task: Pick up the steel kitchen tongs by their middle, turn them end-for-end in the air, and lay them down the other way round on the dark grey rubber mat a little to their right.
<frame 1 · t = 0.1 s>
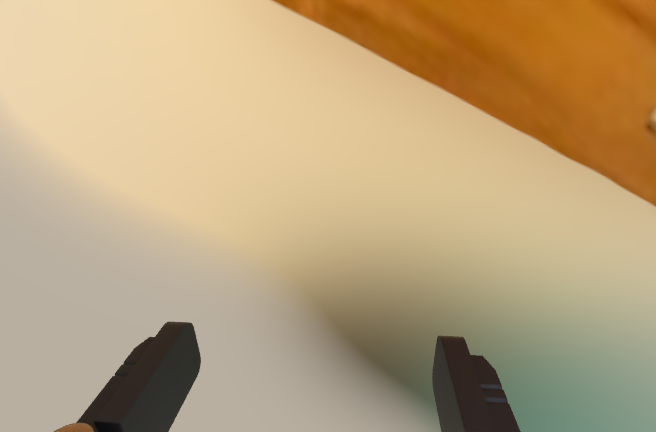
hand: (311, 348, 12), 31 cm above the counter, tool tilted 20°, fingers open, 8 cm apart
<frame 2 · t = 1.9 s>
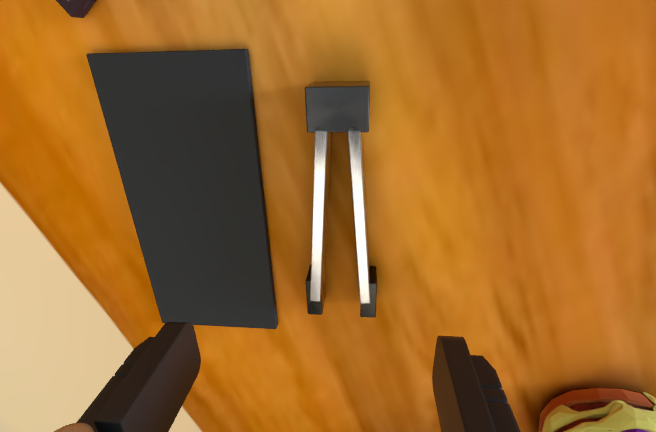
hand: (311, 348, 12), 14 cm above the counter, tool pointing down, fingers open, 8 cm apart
cheeseburger: (583, 418, 31), on the counter
tongs: (341, 81, 21), on the counter
mat: (199, 209, 26), on the counter
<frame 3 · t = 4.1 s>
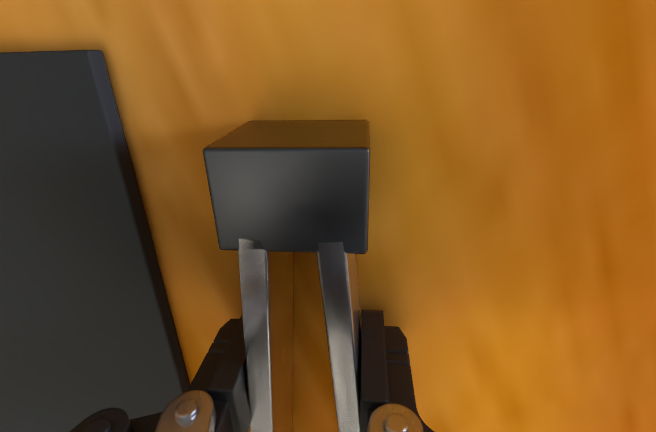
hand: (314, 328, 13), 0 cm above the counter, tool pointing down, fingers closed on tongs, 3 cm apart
tongs: (307, 119, 10), on the counter, touching gripper
mat: (62, 337, 15), on the counter
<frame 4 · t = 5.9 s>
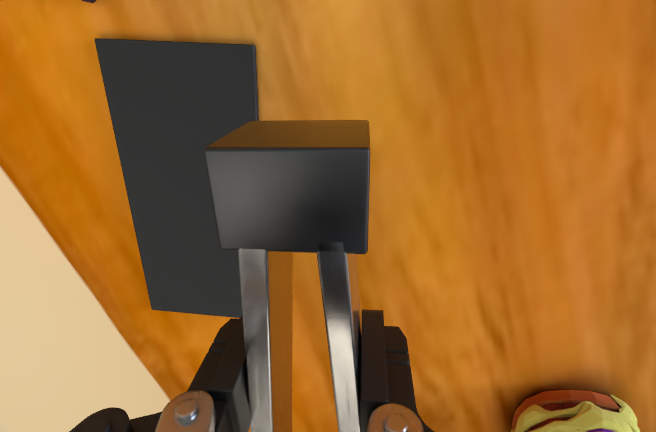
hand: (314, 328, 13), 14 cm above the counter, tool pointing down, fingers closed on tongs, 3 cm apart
cheeseburger: (554, 418, 33), on the counter
tongs: (307, 120, 10), point 14 cm above the counter, touching gripper
mat: (196, 198, 27), on the counter
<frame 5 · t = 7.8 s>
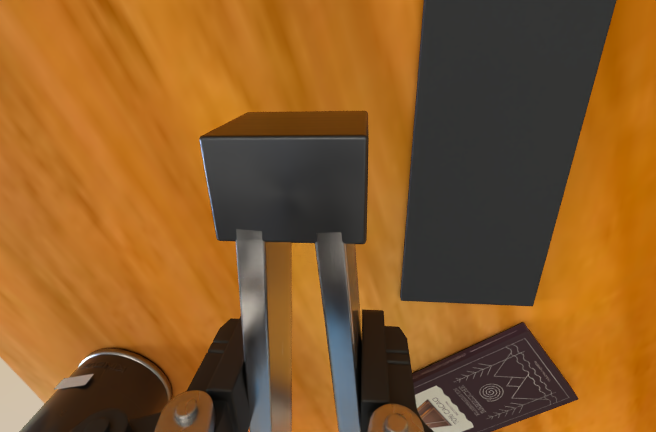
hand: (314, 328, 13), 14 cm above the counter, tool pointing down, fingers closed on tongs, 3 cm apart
tongs: (305, 111, 10), point 14 cm above the counter, touching gripper
mat: (485, 172, 24), on the counter
chocolate bar: (452, 395, 33), on the counter
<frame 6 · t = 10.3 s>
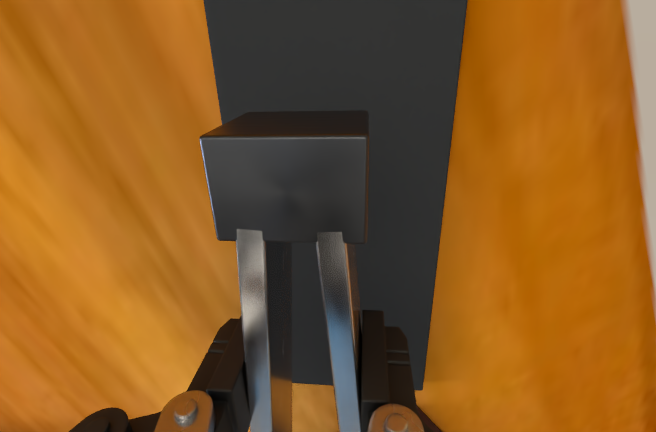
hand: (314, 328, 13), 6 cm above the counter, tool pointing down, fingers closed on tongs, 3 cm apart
tongs: (306, 110, 10), point 6 cm above the counter, touching gripper
mat: (337, 229, 18), on the counter
when the fingers open (1 cm above the counter, at t = 12.0 s): tongs stays where it is, resting on mat.
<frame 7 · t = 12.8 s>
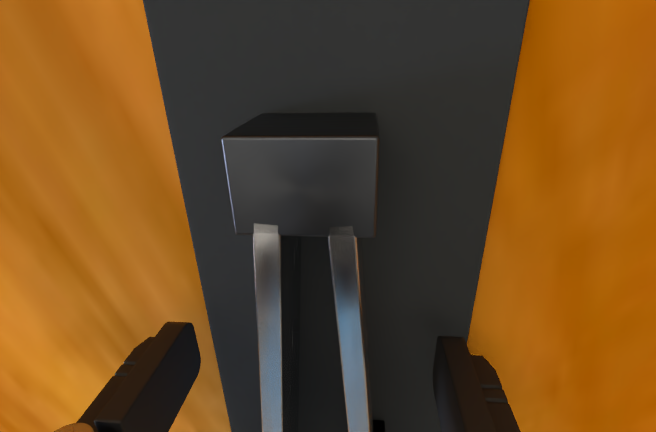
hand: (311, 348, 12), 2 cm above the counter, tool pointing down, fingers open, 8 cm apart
tongs: (317, 112, 10), point 1 cm above the counter, touching mat
mat: (334, 291, 14), on the counter
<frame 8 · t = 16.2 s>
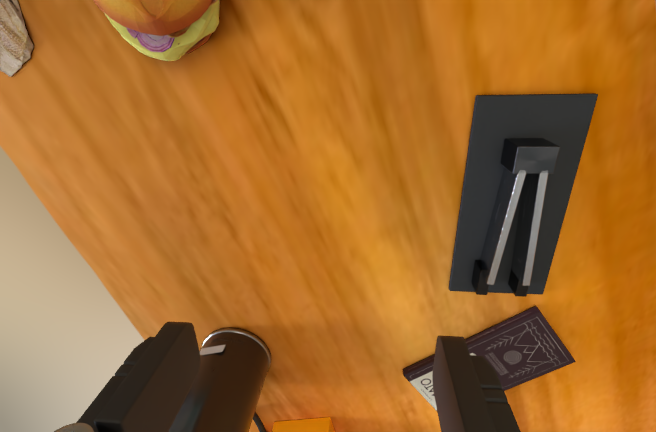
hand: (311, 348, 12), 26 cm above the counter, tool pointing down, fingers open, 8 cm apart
tongs: (523, 138, 33), point 1 cm above the counter, touching mat
mat: (511, 203, 36), on the counter
chocolate bar: (483, 361, 45), on the counter
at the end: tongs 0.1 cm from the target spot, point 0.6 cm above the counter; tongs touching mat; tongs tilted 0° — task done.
